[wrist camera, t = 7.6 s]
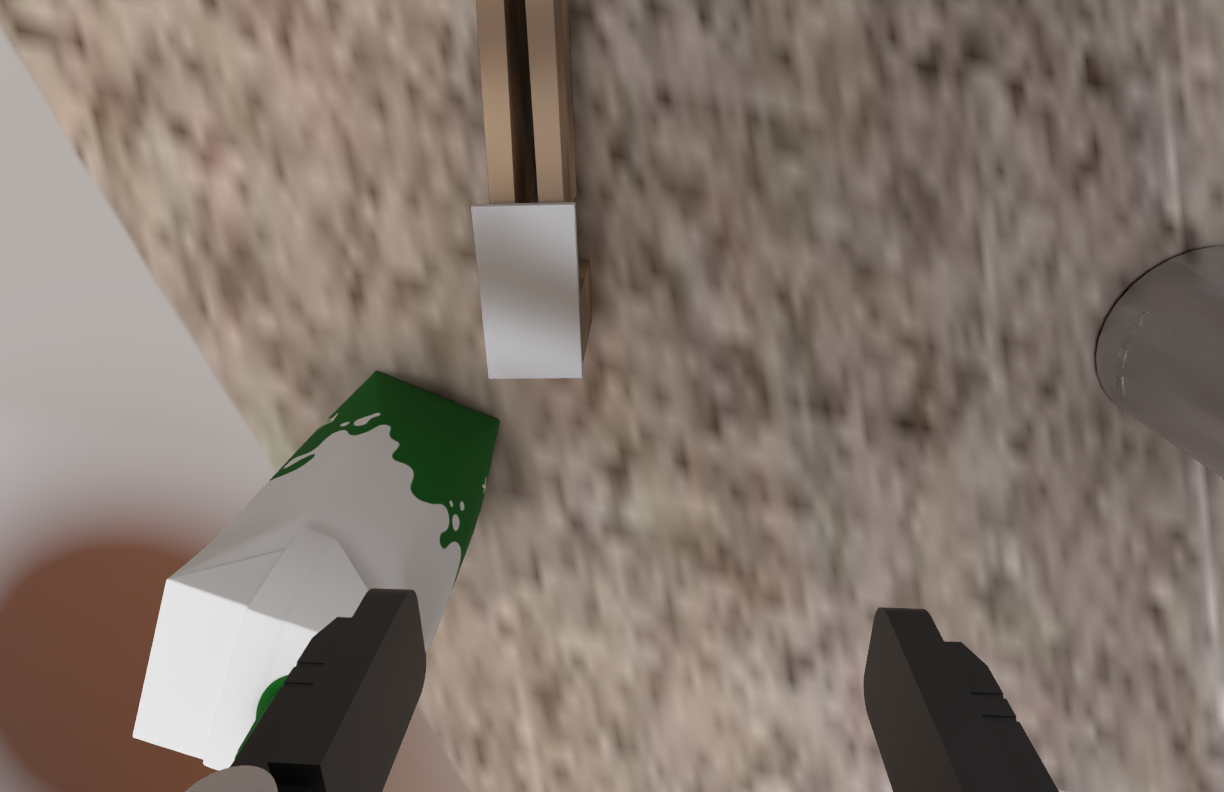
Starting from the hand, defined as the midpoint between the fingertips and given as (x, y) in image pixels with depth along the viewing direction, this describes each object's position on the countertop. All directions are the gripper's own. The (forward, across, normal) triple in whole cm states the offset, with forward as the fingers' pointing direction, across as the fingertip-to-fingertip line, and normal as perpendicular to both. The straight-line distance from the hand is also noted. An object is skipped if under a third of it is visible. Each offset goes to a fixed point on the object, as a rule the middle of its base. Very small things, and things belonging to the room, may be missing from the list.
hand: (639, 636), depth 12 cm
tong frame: (+25, +5, -7) cm, 26 cm away
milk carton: (+25, +13, +9) cm, 30 cm away
